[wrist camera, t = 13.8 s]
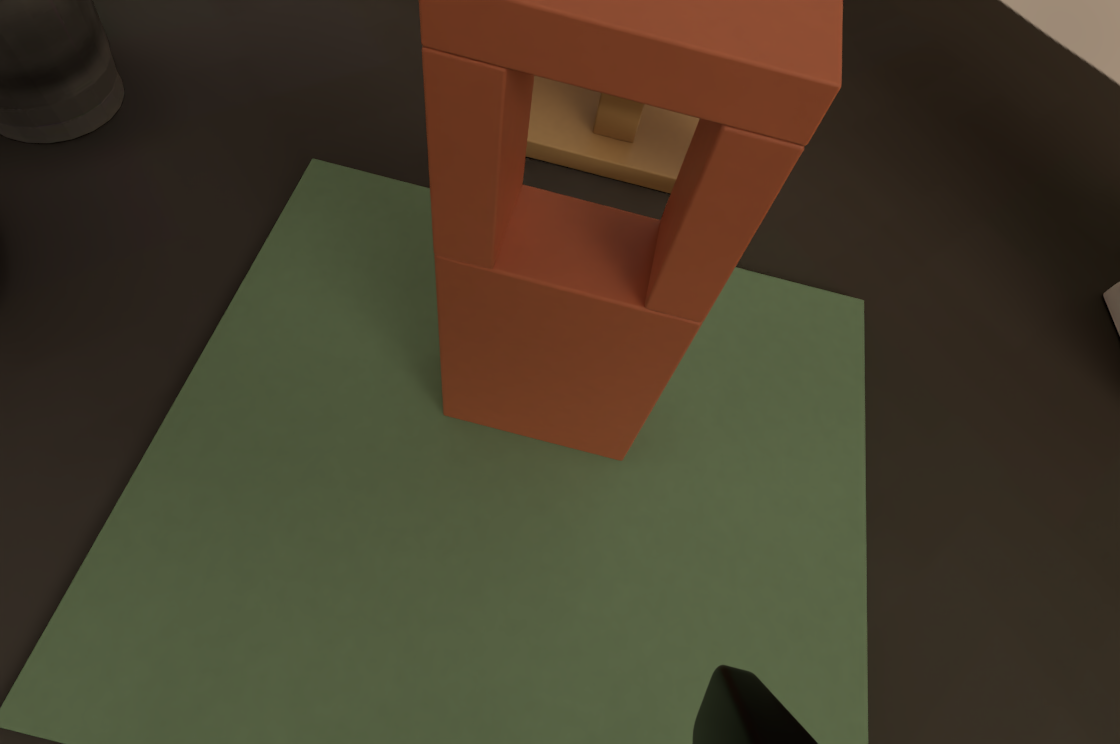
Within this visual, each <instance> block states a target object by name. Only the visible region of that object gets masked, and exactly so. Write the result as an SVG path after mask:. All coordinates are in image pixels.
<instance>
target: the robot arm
mask: <svg viewBox="0 0 1120 744" xmlns="http://www.w3.org/2000/svg"><path fill="white" fill-rule="evenodd" d="M692 743H693V744H818V743H817V742H816V741H815V739H814V738H813V737H812V736H811V735H810V734H809V733H808V732H807V731H806V730H805V729H804V727H803V726H802V725H801V724H800V723H799V722H798V721H797V720H796V719H795V718H794V717H793V715H792V714H791V713H790V712H789V711H788V710H787V709H786V708H785V707H784V706H783V705H782V703H781V702H780V701H779V700H778V699H777V698H776V697H775V696H774V695H773V694H772V692H771V691H770V690H769V689H768V688H767V687H766V686H765V685H764V684H763V683H762V682H761V680H760V679H759V678H758V677H757V676H756V675H755V674H754V673H752V672H750V671H747V670H743V669H739V668H735V667H731V666H727V665H720V666H718V667H717V668H716V669H715V671H714V672H713V674H712V676H711V679H710V682H709V684H708V687H707V690H706V692H705V695H704V698H703V700H702V703H701V706H700V708H699V711H698V714H697V717H696V720H695V724H694V729H693V742H692Z"/></svg>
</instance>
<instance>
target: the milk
mask: <svg viewBox="0 0 1120 744" xmlns="http://www.w3.org/2000/svg"><path fill="white" fill-rule="evenodd" d="M1103 296H1104V299H1105V301H1106V304H1107V306H1108V309H1109V311H1110V314H1111V316H1112V319H1113V321H1114V324H1115V326H1116V328H1117V331H1118V333H1119V336H1120V282H1118V283H1117V284H1115V285H1114V286H1112V287H1111V288H1110V289H1108V290H1107V291H1106V292H1104V294H1103Z"/></svg>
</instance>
